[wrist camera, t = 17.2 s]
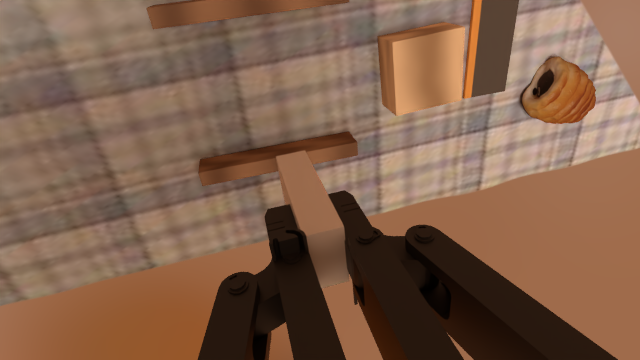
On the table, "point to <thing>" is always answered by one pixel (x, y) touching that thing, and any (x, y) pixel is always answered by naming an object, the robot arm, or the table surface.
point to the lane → (227, 3)
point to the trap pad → (489, 46)
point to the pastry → (559, 93)
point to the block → (421, 67)
